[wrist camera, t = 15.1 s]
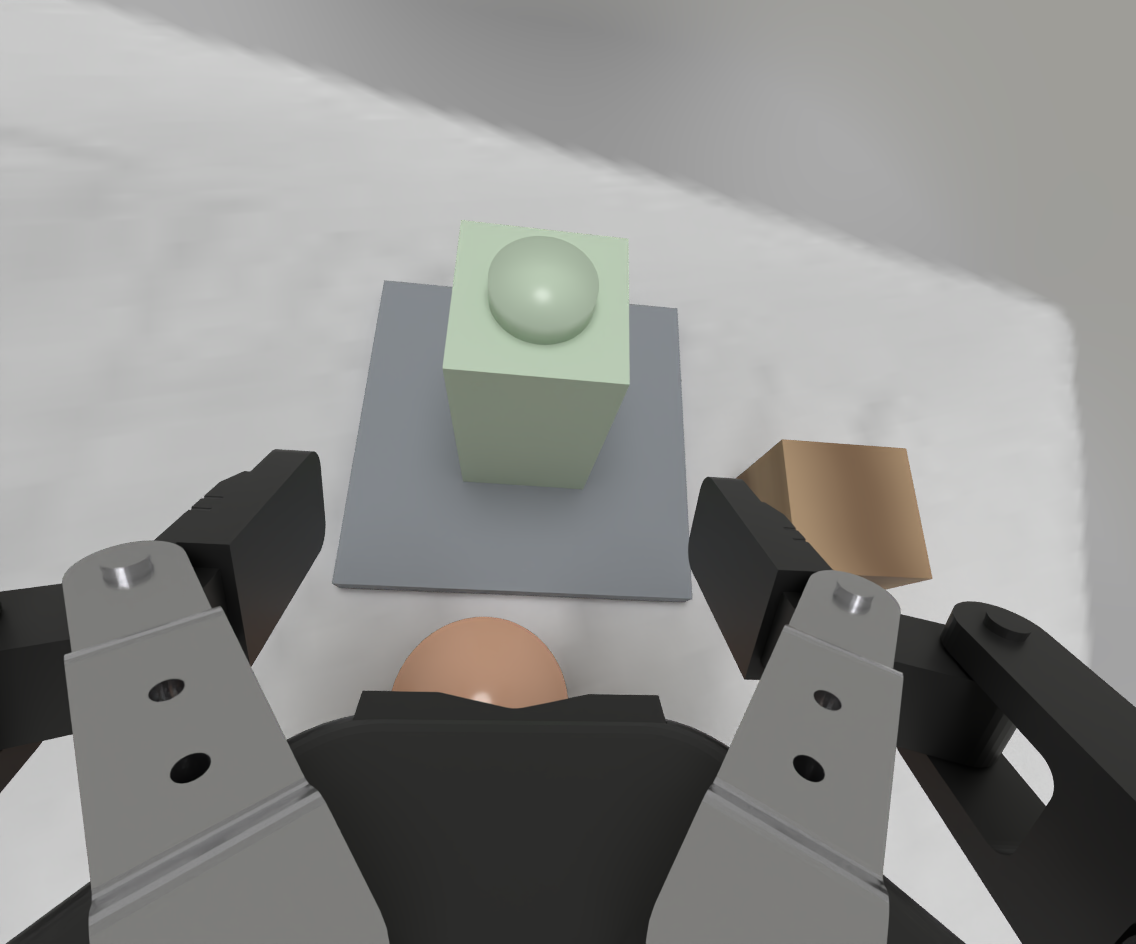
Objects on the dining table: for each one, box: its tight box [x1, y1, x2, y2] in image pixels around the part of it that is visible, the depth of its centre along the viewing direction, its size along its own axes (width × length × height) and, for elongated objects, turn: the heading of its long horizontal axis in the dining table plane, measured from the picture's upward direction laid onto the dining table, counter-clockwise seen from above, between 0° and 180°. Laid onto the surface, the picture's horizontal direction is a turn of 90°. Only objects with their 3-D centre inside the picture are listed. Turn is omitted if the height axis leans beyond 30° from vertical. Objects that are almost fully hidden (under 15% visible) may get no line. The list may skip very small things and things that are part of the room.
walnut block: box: [736, 440, 932, 590], centre depth 23 cm, size 5×5×5 cm
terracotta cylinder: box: [392, 617, 568, 708], centre depth 18 cm, size 5×5×6 cm
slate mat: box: [332, 280, 692, 602], centre depth 25 cm, size 14×14×1 cm
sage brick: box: [442, 220, 630, 489], centre depth 20 cm, size 5×5×10 cm
